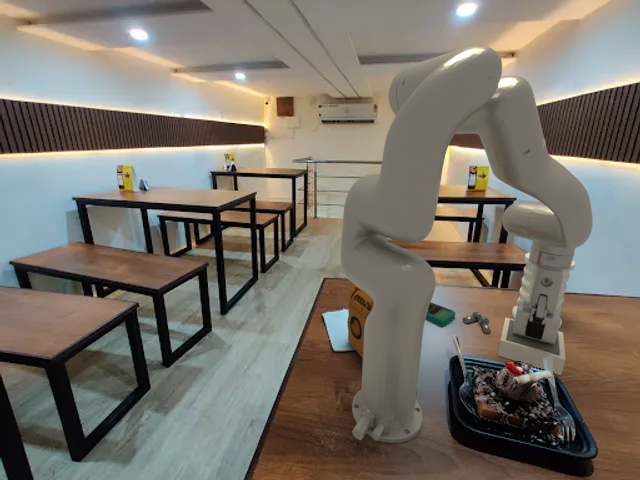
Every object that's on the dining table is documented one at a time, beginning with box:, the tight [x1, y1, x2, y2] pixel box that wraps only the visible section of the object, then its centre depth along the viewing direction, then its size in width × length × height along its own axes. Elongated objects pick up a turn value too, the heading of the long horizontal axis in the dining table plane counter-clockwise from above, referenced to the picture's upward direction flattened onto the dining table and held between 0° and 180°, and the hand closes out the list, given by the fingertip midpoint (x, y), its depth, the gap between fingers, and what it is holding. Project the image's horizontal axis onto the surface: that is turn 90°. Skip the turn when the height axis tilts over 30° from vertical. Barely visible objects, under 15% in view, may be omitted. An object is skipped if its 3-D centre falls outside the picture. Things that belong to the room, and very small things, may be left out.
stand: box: [497, 317, 567, 376], centre depth 75 cm, size 12×12×4 cm
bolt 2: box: [478, 315, 492, 335], centre depth 84 cm, size 5×2×2 cm, turn 166°
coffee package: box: [346, 282, 374, 359], centre depth 72 cm, size 10×12×22 cm
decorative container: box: [511, 252, 576, 329], centre depth 86 cm, size 12×12×18 cm
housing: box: [512, 301, 562, 345], centre depth 73 cm, size 8×6×7 cm
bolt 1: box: [462, 311, 482, 324], centre depth 87 cm, size 5×2×2 cm, turn 111°
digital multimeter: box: [425, 301, 456, 328], centre depth 92 cm, size 7×15×3 cm, turn 42°
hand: (533, 329), depth 73 cm, fingers closed on housing, 5 cm apart
